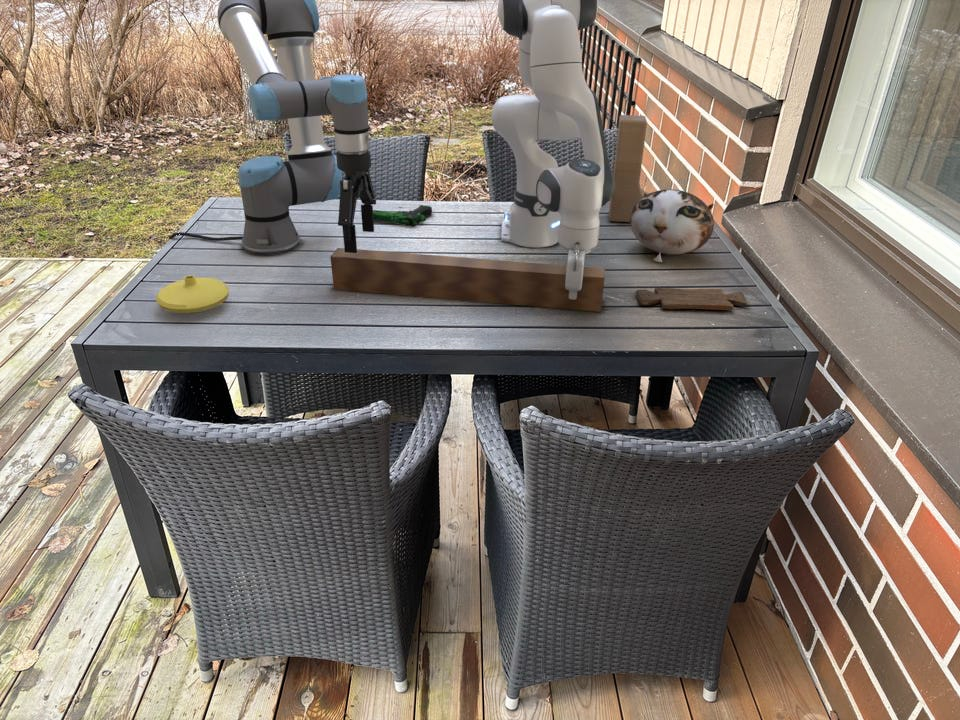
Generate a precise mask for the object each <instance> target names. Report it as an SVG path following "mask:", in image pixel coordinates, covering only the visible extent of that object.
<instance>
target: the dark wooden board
mask: <svg viewBox="0 0 960 720" xmlns="http://www.w3.org/2000/svg"><path fill="white" fill-rule="evenodd" d="M653 291H654V292H653ZM653 291H651V290H648V289H645V288H644V289H636V290H635V294H636V299H637V301H638V303H639V306H652V305H657V304H660V305H661V308H662V310H663V309H664V310H679V309H680V310H683V309H684V310H685V309H686V310H687V309H688V310H689V309H691V310H692V309H693V310H714V311H715V310H717V311H731V310H733V309H734V306H737V307H743V308H745V307H747V304H748V303H747V299H746V297H745V294H744V293H743V292H741V291H735V292H732V293H731V292H730V293H726V294H723V293H724V292H723V289H722V288H720V289H719V288H675V287H674V288H673V287H672V288H671V287H654V289H653Z"/></svg>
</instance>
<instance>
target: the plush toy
mask: <svg viewBox="0 0 960 720" xmlns="http://www.w3.org/2000/svg"><path fill="white" fill-rule="evenodd" d="M649 193H650V194H648V195H647V194H644V197H643V198H641V199H640V200H639V201H638V202H637V203H636V205H635V206H634V208H633V210H632V212H631V216H630V222H629V223H630V228H631V231H632V233H633V235H634V236H635V238H636V239H637V240H638V242H639V243H641V245H643V246H644V247H646V248H648V249H649V250H651V251H654V252H656V253H658V254H657V256H656V257H654V258H653V259H652V261H654V262H658V263H663V260H662V256H661V254H663V255H668V256H669V255H670V256H671V255H672V256H680V255H685V254H690V253H693V252H695V251H697V250H698V249H700V248H702V247H703V246H704V245H706V244H707V243H708V241H709V240H710V238H711V237H712V234H713V232H714V229H715V220H714V216H713V213H712V211H711V210H712V209H713V207H714V206H715V205H714V203H711V204H709V205H707V204H706V203H705V202H704V201H703V200H702V199H701V198H699V197H698V196H696V195H694V194H692V193H691V192H687V191H684V190H680V189H674V188H673V189H671V188H669V189H668V188H667V189H659V190H656V191H652V192H649Z"/></svg>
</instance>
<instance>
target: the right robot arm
mask: <svg viewBox="0 0 960 720" xmlns="http://www.w3.org/2000/svg"><path fill="white" fill-rule="evenodd" d="M599 1H600V0H498V3H497V16H498V20H499V23H500V25H501V28H502V30H503V31H504V32H505V33H506V34H507V35H509V36H511V37H515V38H518V73H519V76H520V79H521V80H522V82H523V83H524V85H525V86H526V87H528V88H530V89H531V90H532V91H533V94H518V93H517V94H510V95H505V96H500V97H499V98H498V99H497V100H496V101H495V103H494V105H493V107H492V109H491V113H490V115H491V117H490V119H491V124H492V127H493V129H494V130H495V132H496V133H497V134H498V135H499V136H500V137H501V138H503V140H505V143H507V144H508V146H509V148H510V150H511V152H512V153H513V156H514V159H515V169H516V188H515V189H514V193H513V203H512V204H511V205H510V206H509V211H507V210H506V211H503V220H502V221H501V228H500V229H501V230H500V232H501V233H500V241H502V242H505V243H512V244H514V245H517V246H520V247H525V248H547V247H551V246H554V245H556V244H559V245H560V246H561V247H563V248H562V249H563V251H564V252H566V253H567V260H566V265H567V268H566V280H565V288H566V290H569V299H574V300H575V299H576V298H577V291H580V290H581V288H582V280H583V270H584V267H585V257H586V255H587V254H590V253H591V252H592V249H594V248H596V247H597V246H598V243H599V235H600V226H601V222H600V221H601V220H600V211H601V208H603V207H604V206H605V205H607V203H608V202H610V199H611V196H612V195H613V193H614V190H615V179H614V175H613V172H614V171H613V170H612V167H611V163H610V159H609V155H608V154H609V153H608V149H607V143H606V136H605V131H604V125H603V118H602V113H601V108H600V104H599V99H598V98H597V94H596V93H595V92H594V90H593V89H591V88H590V87H589V86H588V84H587V81H586V79H585V76H584V71H583V60H582V47H581V39H580V33H579V31H582V30H584V29H588V28H590V27H591V26H592V25H593V24H594V23H595V21H596V18H597V14H598V11H599V6H600V5H599V3H600V2H599ZM574 140H581V147H582V152H583V158H575V159H572V160H570V161H568V162H567V163H566V164H565V165H563V166H559V164H558V161H557V160H556V159H555V157H554V156H553V155H551V154H550V153H548V152H547V151H545V150H543V149H542V148H541V147H540V146H539V144H538V141H555V142H567V141H568V142H569V141H574Z"/></svg>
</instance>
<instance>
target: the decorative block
mask: <svg viewBox="0 0 960 720" xmlns="http://www.w3.org/2000/svg"><path fill="white" fill-rule="evenodd" d="M647 127H648V122H647V118H646V116H645V115H636V114H635V115H634V114H620V115H619V118H618V127H617V135H616V136H617V137H616V146H615V154H614V164H613V171H612V172H613V175H614V179H615V190H614V193H613V195H612V196H611V198H610V199H609V210H608V220H609V221H610V222H617V223H630V216H631V212H632V210H633V208H634V206H635V205H636V203H637V202H638V201H639V200H640V199H641V198H643V197H644V194H647V195H648V194H650V193H651V192H646V191H645V190H644V189H643V188H642V187H641V184H640V180H641V173H642V167H643V166H642V165H643V157H644V151H645V142H646V136H647V135H646V134H647Z"/></svg>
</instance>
